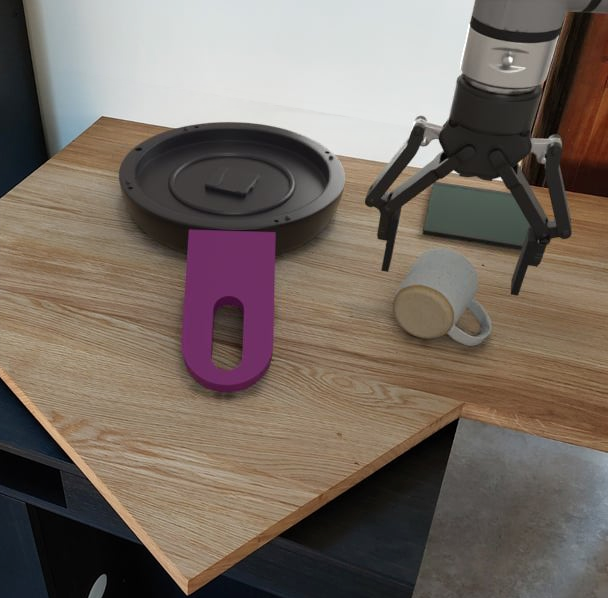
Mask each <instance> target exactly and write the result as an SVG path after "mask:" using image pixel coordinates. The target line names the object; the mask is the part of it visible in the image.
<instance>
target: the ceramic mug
mask: <svg viewBox="0 0 608 598" xmlns="http://www.w3.org/2000/svg"><path fill="white" fill-rule="evenodd" d="M479 284H480V281H479V276H478V273H477V270H476V268H475V267H474V265H473V264H472V262H471V261H470V260H469V259H468V258H466V257H465V256H464V255H463V254H461V253H460V252H458V251H455V250H453V249H449V248H445V247H443V248H442V247H441V248H440V247H437V248H432V249H427V250H425V251H424V252H422V253H421V254H420V255H419V256H418V257H417V258H416V259H415V261H414V263H413V264H412V266H411V268H410V269H409V271H408V273H406V275H405V277H404V279H403V280H402V282H401V283H400V285H399V287H397V290H396V292H395V294H394V298H393V301H392V313H393V316H394V318H395V321H396V322H397V324H398V325H399V326H400V328H402V329H403V330H404V331H405V332H406V333H408V334H410V335H412V336H413V337H416V338H420V339H427V340H433V339H438V338H440V337H442V336H444V335H447V336H449V337H450V338H451V339H452V340H453V341H455V342H458V343H459V344H461V345H464V346H469V347H475V346H477V345H480V344H482V342H483V341H485V340H486V339H487V337H489V336H490V334H491V331H492V327H493V326H492V325H493V323H492V320H491V318H490V316H489V314H488V312H487V311H486V309H485V308H484V307H483V305H482V304H481V303H480V302H479V301H478V300H477V299H475V297H476V295H477V293H478V291H479V290H478V289H479ZM466 310H468V311H469V312H470V313H471V314H472V315H473V316H474V317H475V319H476V320H477V321H478V324H479V326H480V328H481V330H480V333H479V334H478V335H475V336H473V335H470V334H468V333H466V332H465V331H463V330H461V329H460V328H459V327H457V326H456V325H457V323H458V322H459V320H460V318H461V317H462V315H463V314H464V312H465V311H466Z"/></svg>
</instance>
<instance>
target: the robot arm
mask: <svg viewBox="0 0 608 598" xmlns="http://www.w3.org/2000/svg"><path fill="white" fill-rule="evenodd" d="M569 12H570V13H571V12H575V13H584V14H585V13H586V14H587V13H589V14H590V13H591V14H606V15H608V0H474V4H473V8H472V13H471V16H470V17H471V18H470V21H469V23H468V27H467V32H466V37H465V42H464V45H463V50H462V55H461V59H460V63H459V64H460V65H459V70H460V72H461V74H460V75H458V76H457V78H456V81H455V84H454V85H455V86H454V90H453V94H452V98H451V99H452V100H451V103H450V108H449V113H448V117H447V120H446V121H445V122H444V123H443V124H442V125H440V124H437V123H433V122H428V119H427V117H426V116H425V115H418V116H416V117H415V118H414V121H413V124H412V127H411V130H410V133H409V136H408V138H406V140H405V142H403V144H402V145H401V146H400V148H399V149H398V151H397V152H396V153H395V154H394V155H393V157H392V158H391V160H390V161H389V162H388V163H387V165H386V166H385V167H384V169H383V170H382V171H381V172H380V174H378V176H377V177H376V179H375V180H374V181H373V182H372V184H371V185H370V187H369V188H368V189H367V193H366V195H365V199H364V204H365V205H366V207H368V208H375V209H377V210H378V211H379V213H380V215H379V221H378V228H377V233H376V237H377V240H380V241H385V242H386V243H385V249H384V254H383V259H382V264H381V272H386V273H389V270H390V266H391V263H392V259H393V255H394V254H393V253H394V249H395V243H396V238H397V234H398V227H399V223H400V220H401V219H400V218H401V213H402V208H403V206H404V205H406V204H407V203H408V202H410V201H411V200H413V199H414V198H415V197H417V196H418V195H420V194H421V193H422V192H424V191H425V190H427V189H428V188H429V187H430V186H433V184H434V182H438V181H439V180H442V179H444V178H445V177H447V176H448V175H450V174H451V173H452V172H455V173H456V174H457V175H458V174H459V175H458V177H460V178H461V177H462V178H478V179H481V180H482V181H487V182H493V180H494V179H495V180H496V179H499V178H500V179H501V181H502V182H503V184H504V186H505V187H506V189H508V190H509V193H512V195H513V197H514V199H515V200H516V202H517V204H518V205H519V207H520V209H521V211H522V212H523V214H524V216H525V217H526V219H527V221H528V223H529V224H530V226H531V228H530V227H529V228H528V231H527V234H526V237H525V240H524V243H523V246H522V249H521V250H520V252H519V254H518V255H519V256H518V259H517V262H516V264H515V267H514V270H513V274H512V277H511V280H510V283H511V284H510V295H513V296H517V297H518V296H519V294H520V291H521V288H522V285H523V283H524V279H525V276H526V273H527V271H528V268H529V266H530V267H539V265H540V264H541V263H542V259H543V257H544V254H545V251H546V249H547V246H548V245H549V244H550V243H551V241H552V240H553V239H556V238H559V239H561V240H567V239H569V238H571V236H572V233H573V229H572V228H573V227H572V217H571V213H570V208H569V203H568V199H567V193H566V190H565V189H566V188H565V184H564V180H563V179H564V178H563V174H562V170H561V165H560V163H561V158H562V153H563V142H562V137H561V135H559V134H556V133H555V134H552V135H550V136H549V137H548V138H535V137H533V138H532V134H531V132H532V128H533V124H534V121H535V118H536V114H537V111H538V108H539V104H540V101H541V98H542V94H543V86H541V85H542V84H543V83H544V82H545V81H547V78H548V74H549V71H550V67H551V65H552V64H551V63H552V60H553V58H554V57H553V56H554V53H555V50H556V47H557V43H558V39H559V36H560V35H561V32H562V29H563V24H564V21H565V18H566V17H567V14H568V13H569ZM433 140H438V142H439V145H440V147H441V149H442V151H441V152H439V153H438V154H437V155H436V156H435V157H434V158H433V159H432V160H431V161H430V162H429V163H427V164H425V166H423V167H422V168H421V169H419V170H418V171H417V172H415V173H414V174H412V175H411V176H410V177H409V178H407V179H406V180H404V181H403V182H402V183H401V184H400V185H398V186H397V187H396V188H394V189H393V190H392V191H390V192H388V190H389V189H390V188H391V186H392V185H393V184H394V183H395V181H396V180H397V179H398V178H399V177H400V175H401V174H402V173H403V172H404V170H405V169H406V168H407V166H408V165H409V164H410V163H411V161H412V160H413V159H414V157H415V156H416V155H417V153H418V151H419V149H420V147H423V148H424V147H427V146H429V145H430V143H431V142H432V141H433ZM529 154H534V155H535V157H536V161H537V163H538V164H541V165H544V175H545V181H546V185H547V190H548V194H549V198H550V202H551V209H552V212H553V217H554V219H552V220H551V219H550V220H549V218H548V216H547V214H546V212H545V211H544V209H543V207H542V205H541V203H540V202H539V199H538V198H537V196H536V195H535V193H534V192H533V189H532V187H531V186H530V184H529V182H528V180H527V179H526V177H525V175H524V174H523V171H522V168H521V166H520V164H519V163H520V162H522V161H523V160H524V159H525V158H526V157H528V156H529Z"/></svg>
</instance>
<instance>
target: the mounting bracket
mask: <svg viewBox="0 0 608 598" xmlns="http://www.w3.org/2000/svg"><path fill="white" fill-rule="evenodd" d="M275 236H276V232H251V231H218V230H189V236H188V251H187V253H186V268H185V281H184V296H183V311H182V325H181V340H180V341H181V342H180V343H181V345H180V346H181V347H180V348H181V353H182V359H183V363H184V366H185V368H186V370H187V372H188V373H189V375H190V376H191V377H192V379H193V380H194V381H195V382H197V383H198V384H199V385H200V386H202V387H204V388H206V389H208V390H210V391H213V392H217V393H237V392H241V391H243V390H246V389H248V388H251V387H253V386H254V385H255V384H257V383H258V382H259V381H260V380H261V379H262V378H263V377H264V376H265V374H266V373H267V371H268V370H269V368H270V366H271V363H272V358H273V351H274V336H275V335H274V334H275V329H274V327H275V321H274V320H275V285H276V284H275V283H276V281H275V278H276V255H275ZM225 306H226V307H227V306H233V307H236V308H238V310H240V312H241V313H242V315H243V327H242V329H243V330H242V355H241V356H242V357H241V361H240V363H239V364H238V365H237V366H236V367H233V368H232V369H221V368H219V367H217V365H215V364H214V362H213V360H212V359H213V343H214V341H213V340H214V339H213V338H214V323H215V321H214V320H215V315H216V312H217V311H218V310H219V309H220V308H223V307H225Z"/></svg>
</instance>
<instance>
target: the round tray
mask: <svg viewBox="0 0 608 598" xmlns="http://www.w3.org/2000/svg"><path fill="white" fill-rule="evenodd" d="M118 181H119V187H120V190H121V194H122V197H123V202H124V203H125V206H126V208H127V211H128V213H129V214H130V216H131V217H132V219H133V221H134V223H136V225H137V226H138V227H139V228H140V229H141V230H142V231H143V232H144V233H145V234H147V236H149V237H151V238H152V240H154V241H156V242H158V243H159V244H161V245H163V246H165V247H168V248H170V249H172V250H175V251H177V252H180V253H184V254H187V251H188V236H189V230H218V231H251V232H276V236H275V256H276V255H280V254H284V253H287V252H290V251H292V250H294V249H298V248H299V247H301V246H303V245H305V244H306V243H308V242H310V241H311V240H313V239H314V238H315V237H316V236H318V235H319V234H320V233H322V231H324V229H325V228H326V227H327V226H328V225H329V223H330V222H331V220H332V219H333V217H334V216H335V214H336V212H337V209H338V207H339V205H340V203H341V199H342V196H343V194H344V190H345V185H346V173H345V169H344V167H343V164H342V162H341V161H340V159H339V158H338V157H337V155H335V154H334V153H333V152H332V151H331V150H330V149H329V148H328V147H326V146H325V145H323V144H322V143H320V142H319V141H317V140H315V139H313V138H311V137H309V136H306V135H304V134H301V133H299V132H296V131H293V130H290V129H286V128H283V127H277V126H273V125H268V124H261V123H252V122H240V121H216V122H204V123H203V122H202V123H196V124H190V125H185V126H180V127H176V128H173V129H169V130H166V131H163V132H161V133H157V134H155V135H152V136H150V137H149V138H147V139H145V140H143V141H141V142H140V143H139V144H137V145H136V146H134V147H133V148H132V149H131V150H130V151H129V152H128V153H127V154H126V155H125V156H124V157H123V160H122V162H121V163H120V166H119V170H118Z"/></svg>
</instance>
